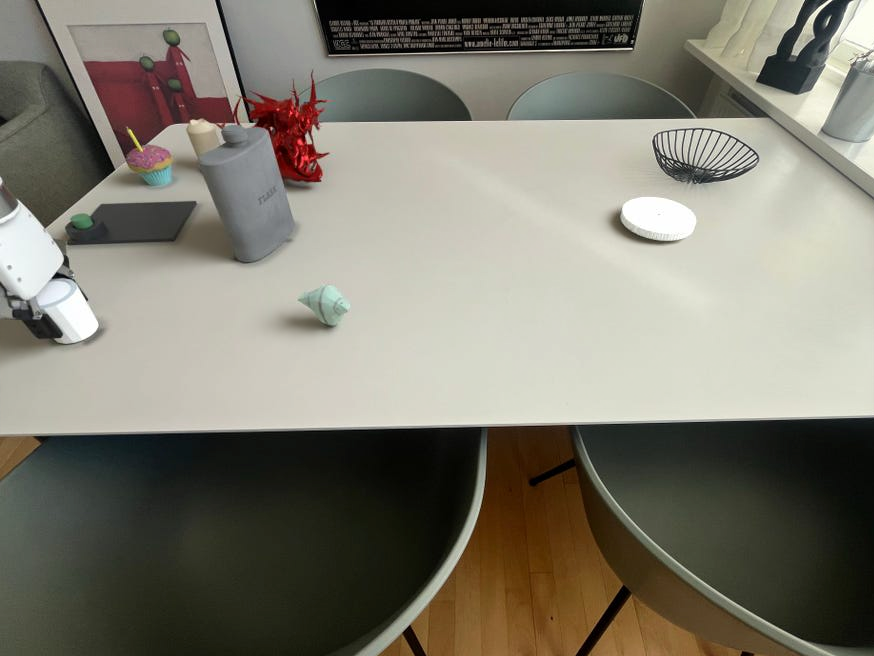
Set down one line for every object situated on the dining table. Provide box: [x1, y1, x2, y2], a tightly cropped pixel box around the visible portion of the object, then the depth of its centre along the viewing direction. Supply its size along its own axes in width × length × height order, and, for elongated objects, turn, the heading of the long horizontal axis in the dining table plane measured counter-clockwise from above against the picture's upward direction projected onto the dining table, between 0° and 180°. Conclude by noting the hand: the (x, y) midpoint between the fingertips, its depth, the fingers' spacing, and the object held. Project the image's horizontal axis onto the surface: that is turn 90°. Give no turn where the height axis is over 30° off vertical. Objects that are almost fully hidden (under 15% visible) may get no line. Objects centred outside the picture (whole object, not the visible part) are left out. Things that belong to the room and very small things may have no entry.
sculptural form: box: [212, 69, 331, 183], centre depth 104 cm, size 21×25×22 cm
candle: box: [185, 117, 222, 159], centre depth 105 cm, size 6×6×10 cm
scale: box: [64, 200, 198, 246], centre depth 91 cm, size 18×14×2 cm
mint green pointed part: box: [296, 284, 351, 326], centre depth 71 cm, size 8×4×7 cm, turn 75°
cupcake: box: [125, 126, 174, 186], centre depth 99 cm, size 9×8×12 cm
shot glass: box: [19, 278, 100, 345], centre depth 68 cm, size 7×7×7 cm
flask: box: [196, 124, 296, 263], centre depth 81 cm, size 15×6×20 cm, turn 165°
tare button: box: [69, 212, 93, 229], centre depth 86 cm, size 3×3×2 cm
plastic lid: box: [620, 196, 697, 242], centre depth 94 cm, size 14×14×2 cm
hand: (64, 318), depth 69 cm, fingers closed on shot glass, 6 cm apart
